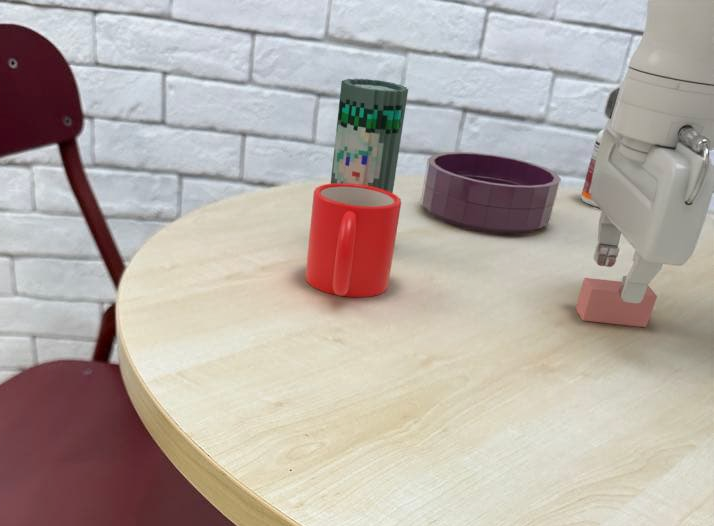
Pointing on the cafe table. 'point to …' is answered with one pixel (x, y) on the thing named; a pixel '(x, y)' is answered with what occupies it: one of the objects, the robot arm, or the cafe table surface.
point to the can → (368, 133)
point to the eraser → (612, 304)
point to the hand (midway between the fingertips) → (615, 281)
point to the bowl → (489, 192)
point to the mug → (352, 239)
